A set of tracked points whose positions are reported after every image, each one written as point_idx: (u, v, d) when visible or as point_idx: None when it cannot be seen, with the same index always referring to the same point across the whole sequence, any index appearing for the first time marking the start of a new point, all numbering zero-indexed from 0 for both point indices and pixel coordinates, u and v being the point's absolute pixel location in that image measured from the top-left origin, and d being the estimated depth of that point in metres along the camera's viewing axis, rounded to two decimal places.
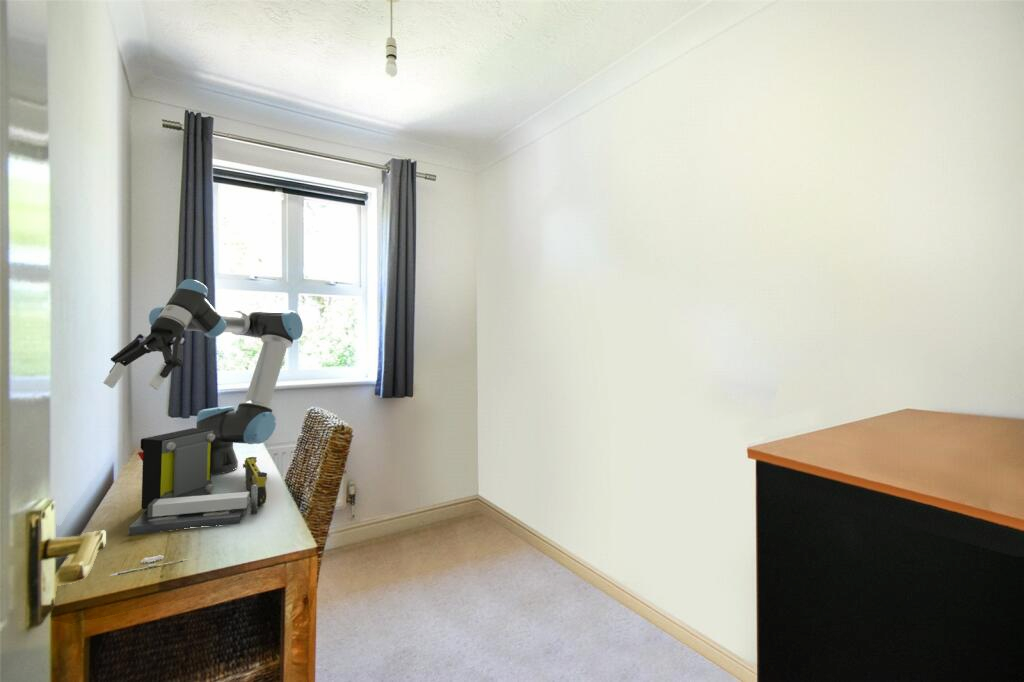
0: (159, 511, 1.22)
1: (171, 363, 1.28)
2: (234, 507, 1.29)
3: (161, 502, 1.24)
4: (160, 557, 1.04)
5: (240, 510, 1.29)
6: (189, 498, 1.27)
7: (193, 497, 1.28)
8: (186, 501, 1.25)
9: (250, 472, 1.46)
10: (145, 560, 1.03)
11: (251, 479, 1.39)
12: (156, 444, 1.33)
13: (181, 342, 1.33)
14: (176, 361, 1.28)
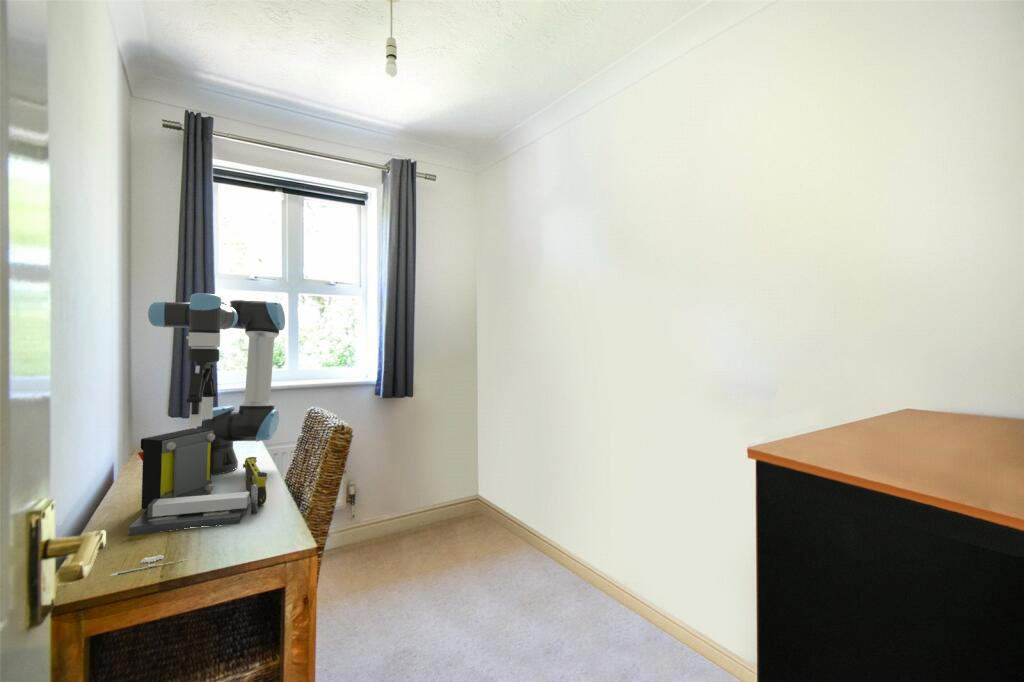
0: (159, 511, 1.22)
1: None
2: (234, 507, 1.29)
3: (161, 502, 1.24)
4: (160, 557, 1.04)
5: (240, 510, 1.29)
6: (189, 498, 1.27)
7: (193, 497, 1.28)
8: (186, 501, 1.25)
9: (250, 472, 1.46)
10: (145, 560, 1.03)
11: (251, 479, 1.39)
12: (156, 444, 1.33)
13: (197, 372, 1.28)
14: (189, 399, 1.24)
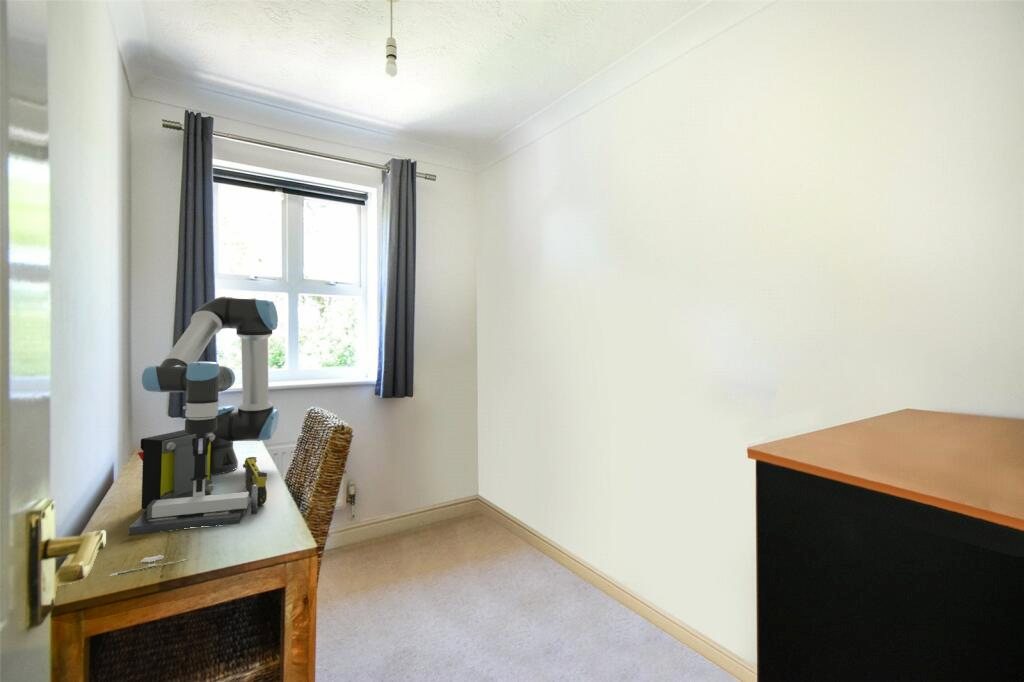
0: (158, 512, 1.22)
1: None
2: (234, 507, 1.29)
3: (160, 503, 1.23)
4: (160, 557, 1.04)
5: (240, 510, 1.29)
6: (189, 499, 1.27)
7: (192, 498, 1.28)
8: (185, 501, 1.25)
9: (250, 472, 1.46)
10: (145, 560, 1.03)
11: (251, 479, 1.39)
12: (156, 444, 1.33)
13: (200, 453, 1.26)
14: (195, 479, 1.27)
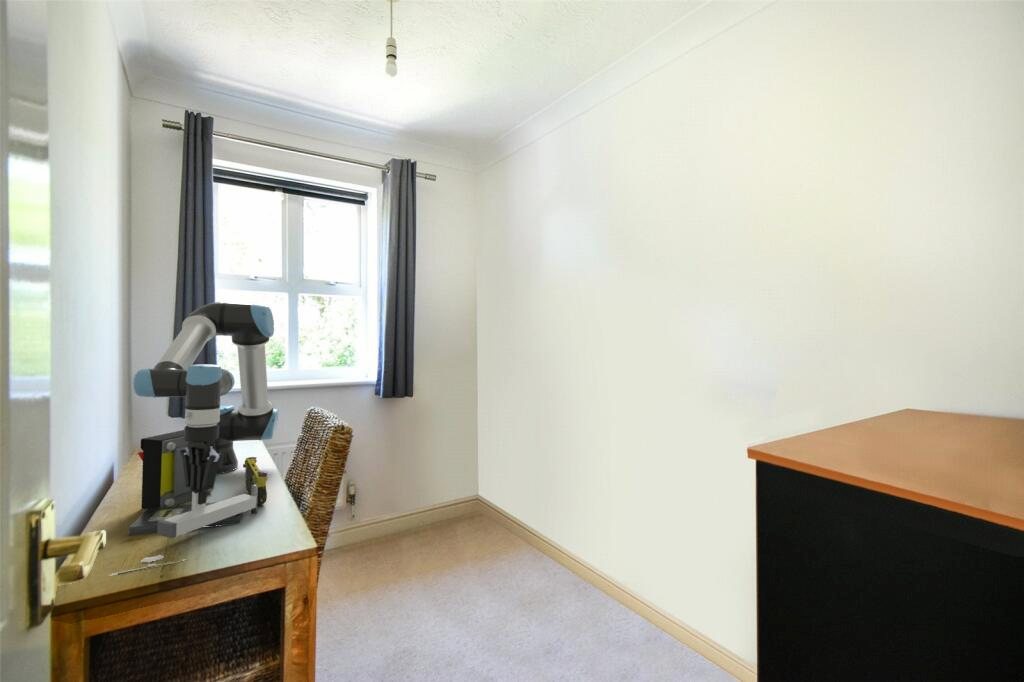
0: (182, 528, 1.12)
1: None
2: (246, 509, 1.28)
3: (176, 520, 1.12)
4: (160, 557, 1.04)
5: None
6: (199, 511, 1.18)
7: (199, 510, 1.19)
8: (202, 513, 1.17)
9: (250, 472, 1.46)
10: (145, 560, 1.03)
11: (251, 479, 1.39)
12: (156, 444, 1.33)
13: (215, 461, 1.19)
14: (204, 490, 1.19)
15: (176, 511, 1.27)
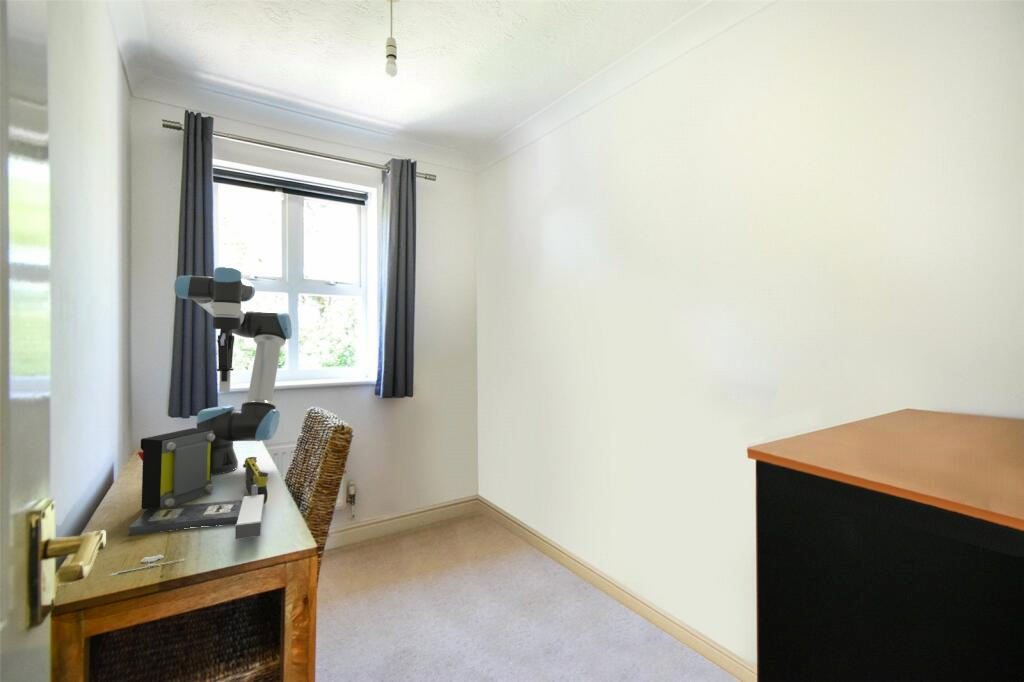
0: None
1: None
2: (263, 506, 1.30)
3: (252, 520, 1.13)
4: (160, 557, 1.04)
5: None
6: (249, 512, 1.19)
7: (245, 512, 1.19)
8: (256, 512, 1.19)
9: (251, 472, 1.46)
10: (145, 560, 1.03)
11: (252, 479, 1.39)
12: (156, 444, 1.33)
13: (222, 345, 1.43)
14: (219, 369, 1.45)
15: (176, 511, 1.27)
